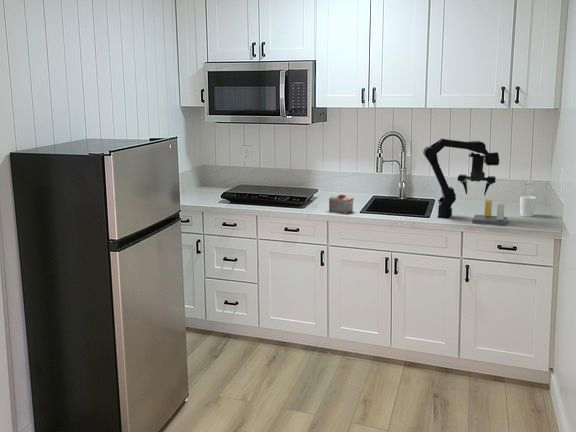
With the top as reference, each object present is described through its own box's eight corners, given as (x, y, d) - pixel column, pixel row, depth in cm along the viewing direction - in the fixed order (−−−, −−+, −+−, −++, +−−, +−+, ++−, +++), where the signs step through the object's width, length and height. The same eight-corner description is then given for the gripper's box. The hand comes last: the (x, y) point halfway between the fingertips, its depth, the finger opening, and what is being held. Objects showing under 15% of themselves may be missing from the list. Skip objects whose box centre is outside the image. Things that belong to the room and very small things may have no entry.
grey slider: (496, 219, 295) (497, 204, 293) (497, 218, 298) (498, 202, 297) (502, 220, 294) (504, 204, 292) (503, 218, 297) (504, 203, 295)
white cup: (536, 215, 314) (538, 196, 311) (531, 217, 308) (532, 199, 306) (521, 213, 319) (523, 195, 316) (516, 215, 313) (517, 197, 311)
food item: (355, 211, 331) (355, 194, 329) (350, 214, 324) (350, 196, 322) (332, 209, 337) (332, 192, 335) (327, 212, 330) (327, 195, 328)
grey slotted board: (472, 223, 299) (472, 219, 298) (475, 218, 309) (475, 214, 308) (505, 225, 292) (505, 221, 292) (507, 220, 302) (507, 216, 302)
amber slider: (484, 216, 303) (485, 201, 301) (485, 214, 306) (486, 199, 305) (490, 216, 302) (491, 201, 300) (491, 215, 305) (492, 199, 303)
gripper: (457, 166, 303) (455, 196, 306) (495, 168, 295) (493, 198, 299) (459, 163, 313) (458, 192, 316) (496, 165, 305) (494, 195, 309)
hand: (475, 194), depth 310 cm, fingers open, 9 cm apart
